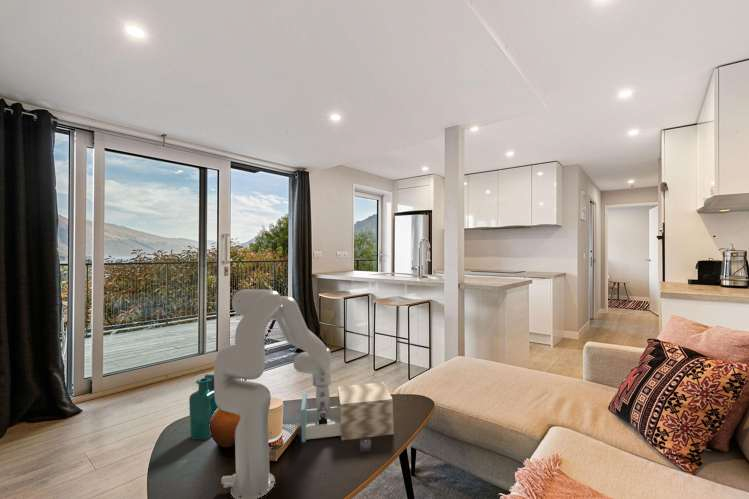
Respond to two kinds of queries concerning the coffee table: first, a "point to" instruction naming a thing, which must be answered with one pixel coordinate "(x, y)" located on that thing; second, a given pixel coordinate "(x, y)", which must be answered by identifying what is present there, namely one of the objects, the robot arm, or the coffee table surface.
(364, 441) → the stand
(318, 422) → the disc
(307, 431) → the drawer
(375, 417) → the cabinet
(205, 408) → the teal bottle vase
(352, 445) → the coffee table surface
